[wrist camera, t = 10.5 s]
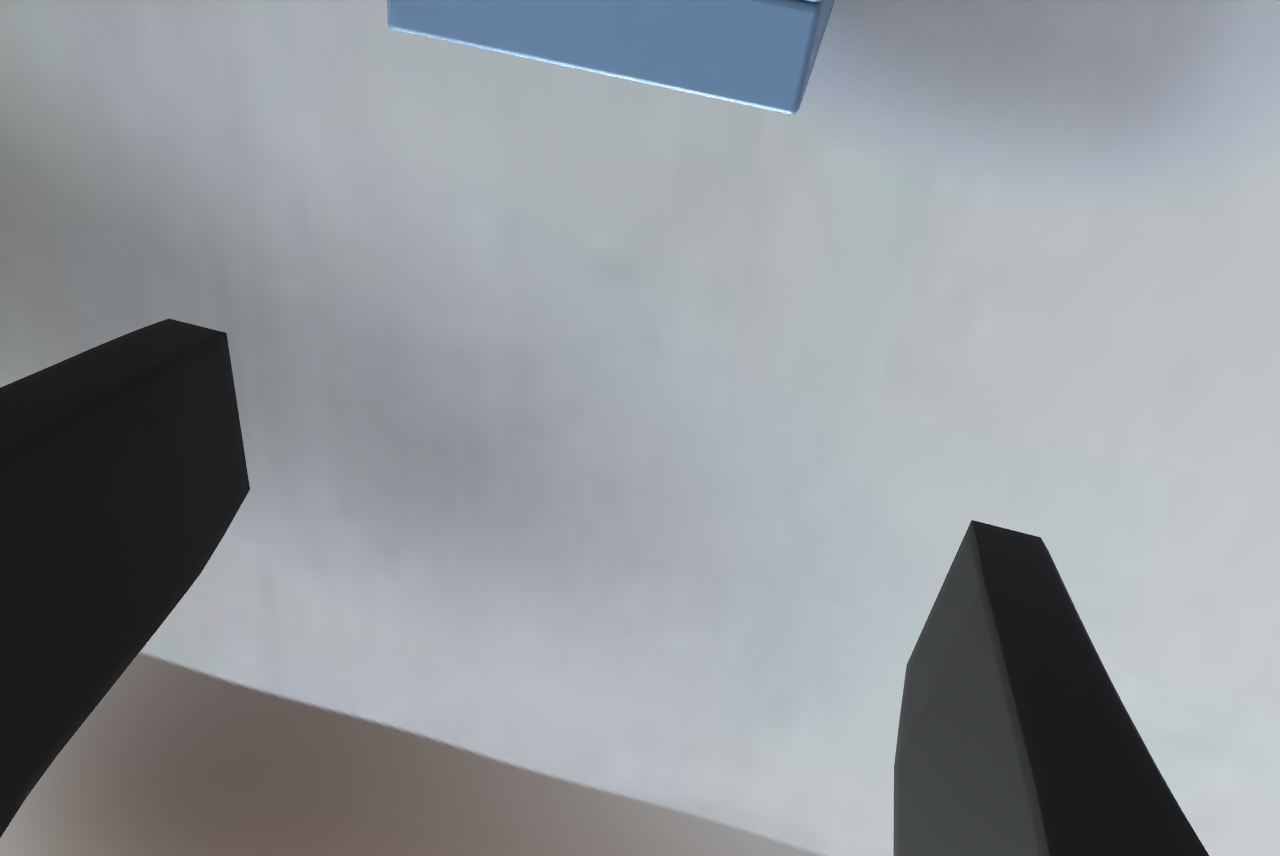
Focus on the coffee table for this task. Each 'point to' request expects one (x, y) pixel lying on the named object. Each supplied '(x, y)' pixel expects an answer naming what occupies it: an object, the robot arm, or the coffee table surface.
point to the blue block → (645, 40)
